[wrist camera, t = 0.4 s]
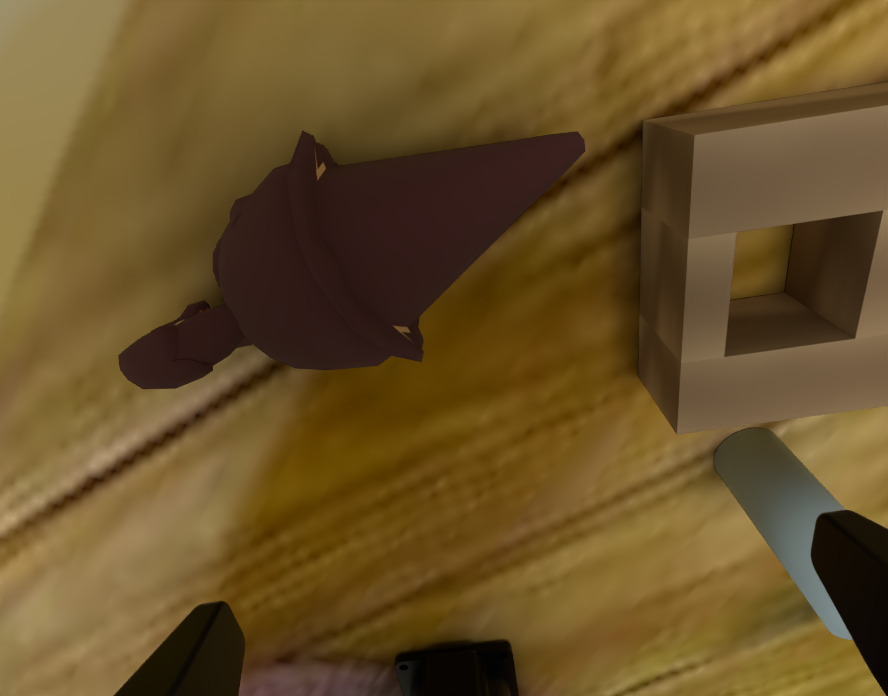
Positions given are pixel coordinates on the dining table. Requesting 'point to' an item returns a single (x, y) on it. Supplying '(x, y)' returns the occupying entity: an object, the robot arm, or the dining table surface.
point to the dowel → (781, 508)
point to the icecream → (349, 256)
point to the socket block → (809, 272)
